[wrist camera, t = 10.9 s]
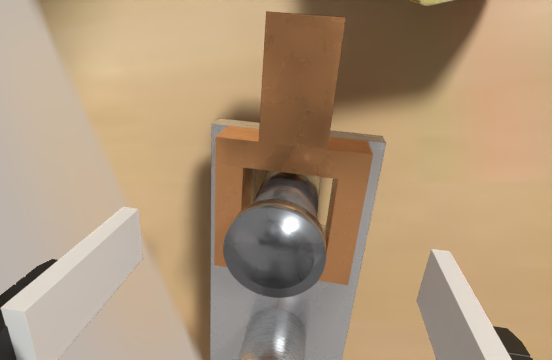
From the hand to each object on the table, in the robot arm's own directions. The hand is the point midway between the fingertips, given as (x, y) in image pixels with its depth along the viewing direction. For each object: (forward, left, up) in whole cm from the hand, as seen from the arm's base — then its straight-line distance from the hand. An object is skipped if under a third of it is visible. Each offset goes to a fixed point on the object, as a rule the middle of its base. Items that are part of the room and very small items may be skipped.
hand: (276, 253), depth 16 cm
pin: (0, 0, -14) cm, 14 cm away
